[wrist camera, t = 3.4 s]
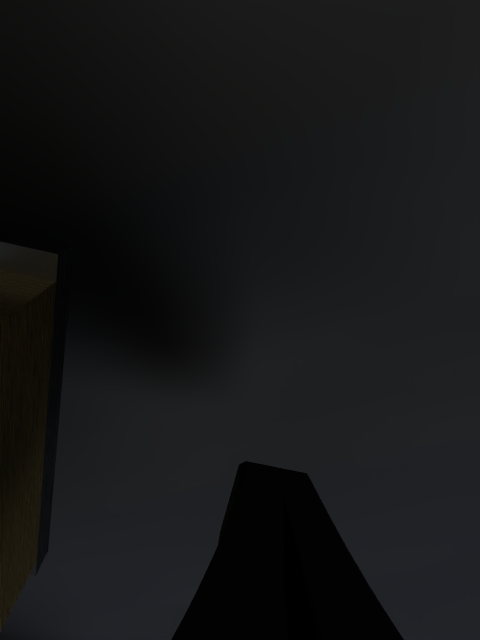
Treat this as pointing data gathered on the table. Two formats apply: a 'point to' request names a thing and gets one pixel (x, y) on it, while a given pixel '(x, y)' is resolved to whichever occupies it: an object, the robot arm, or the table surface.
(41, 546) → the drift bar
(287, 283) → the table surface
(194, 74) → the table surface
